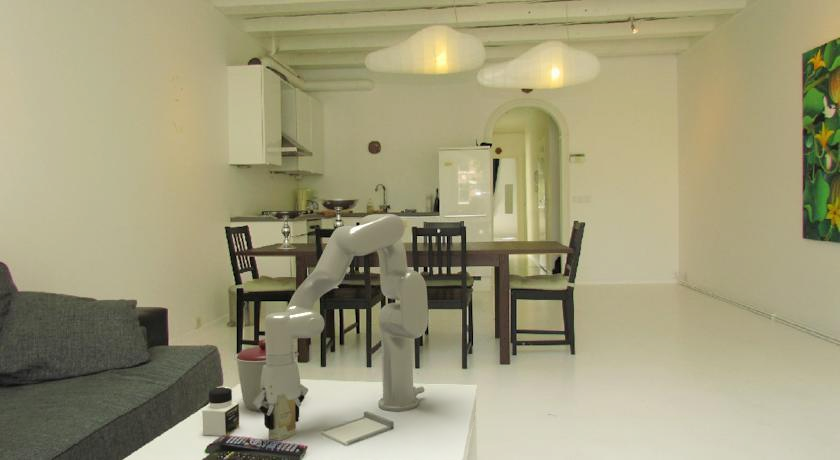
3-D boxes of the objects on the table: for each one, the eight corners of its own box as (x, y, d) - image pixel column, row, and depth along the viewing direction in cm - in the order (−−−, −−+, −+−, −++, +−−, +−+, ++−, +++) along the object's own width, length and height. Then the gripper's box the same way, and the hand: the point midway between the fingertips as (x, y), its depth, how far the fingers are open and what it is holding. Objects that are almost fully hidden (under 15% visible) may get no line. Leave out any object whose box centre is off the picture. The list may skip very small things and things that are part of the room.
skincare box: (279, 441, 147) (278, 395, 147) (268, 438, 149) (266, 393, 149) (297, 433, 152) (295, 389, 152) (285, 430, 155) (284, 386, 154)
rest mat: (366, 418, 163) (366, 411, 163) (393, 428, 154) (393, 421, 154) (320, 433, 152) (320, 426, 152) (346, 446, 143) (346, 438, 143)
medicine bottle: (226, 436, 151) (224, 392, 151) (202, 435, 153) (201, 391, 153) (239, 427, 158) (238, 385, 158) (217, 425, 160) (215, 384, 160)
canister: (266, 419, 164) (264, 348, 163) (223, 410, 172) (221, 342, 172) (307, 401, 179) (305, 336, 179) (266, 393, 188) (264, 331, 188)
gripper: (301, 351, 159) (302, 413, 159) (243, 362, 147) (245, 430, 147) (315, 355, 154) (317, 419, 154) (257, 368, 142) (259, 437, 142)
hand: (282, 424), depth 151 cm, fingers closed on skincare box, 6 cm apart
